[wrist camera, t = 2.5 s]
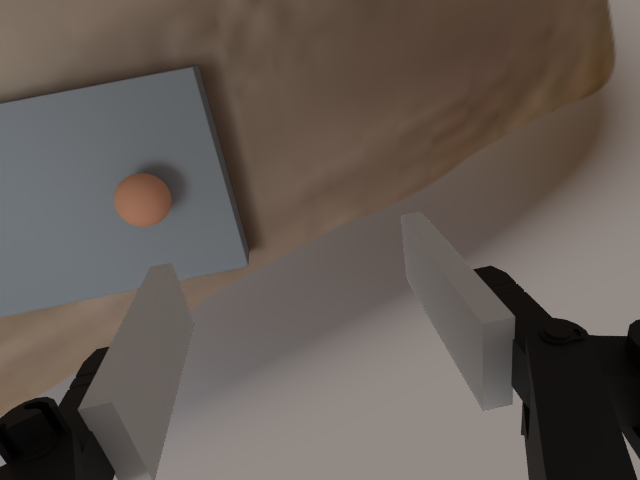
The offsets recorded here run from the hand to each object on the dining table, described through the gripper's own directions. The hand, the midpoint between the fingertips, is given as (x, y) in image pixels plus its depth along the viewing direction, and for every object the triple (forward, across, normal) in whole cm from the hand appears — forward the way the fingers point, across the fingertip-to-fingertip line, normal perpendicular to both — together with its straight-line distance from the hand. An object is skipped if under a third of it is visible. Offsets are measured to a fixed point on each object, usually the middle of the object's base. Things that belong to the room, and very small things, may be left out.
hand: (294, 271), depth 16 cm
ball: (+13, -9, 0) cm, 16 cm away
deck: (+17, -16, 0) cm, 24 cm away
